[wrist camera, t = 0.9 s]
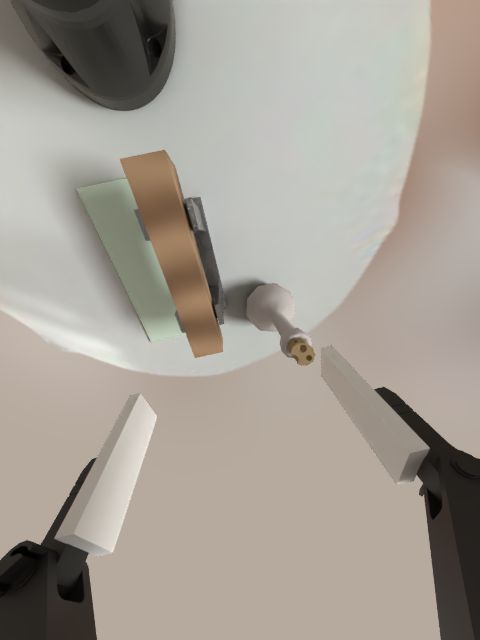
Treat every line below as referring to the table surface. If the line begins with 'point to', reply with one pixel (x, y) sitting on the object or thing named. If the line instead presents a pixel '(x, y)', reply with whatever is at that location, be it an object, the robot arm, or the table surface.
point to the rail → (175, 246)
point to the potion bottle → (279, 320)
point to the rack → (205, 254)
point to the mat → (132, 256)
